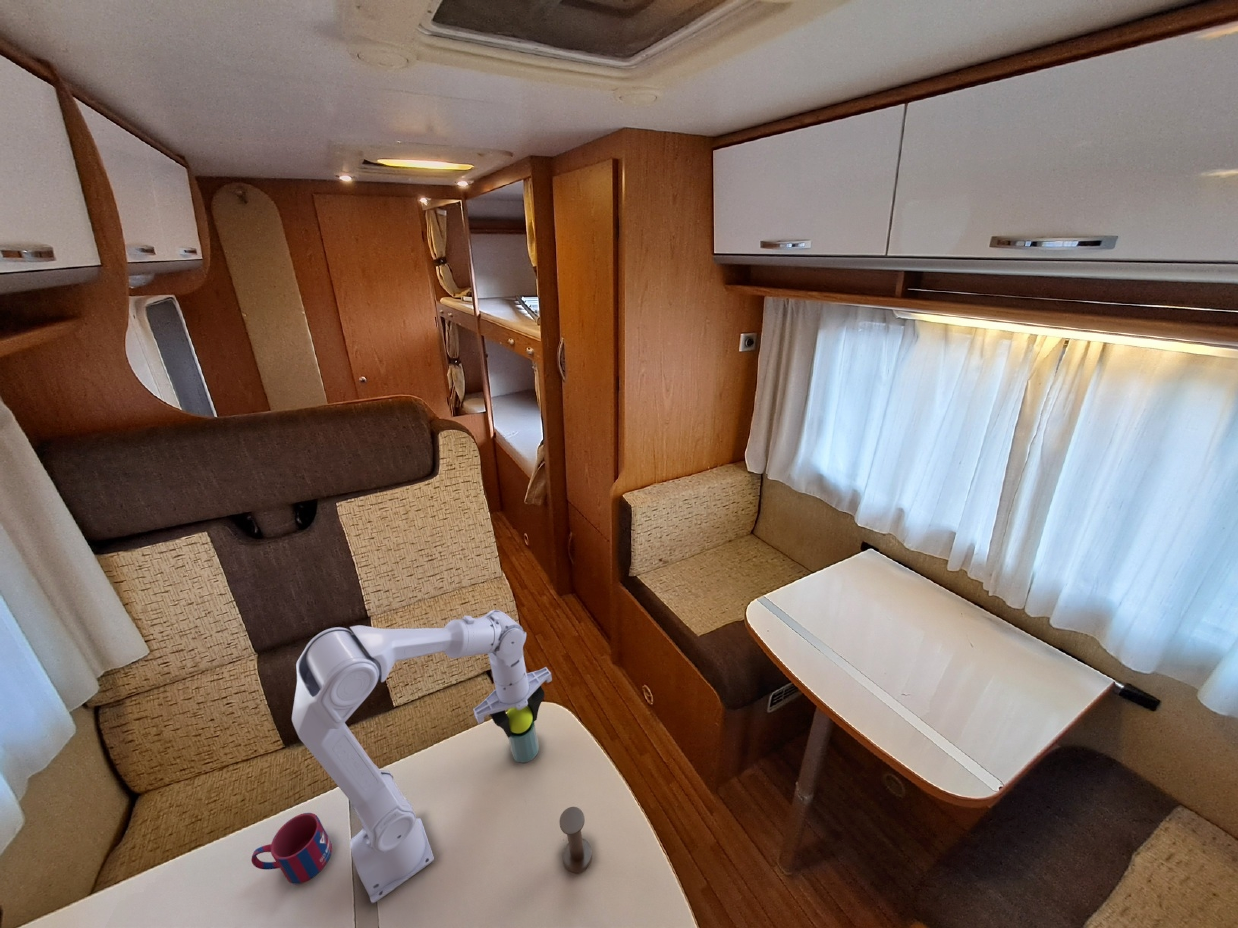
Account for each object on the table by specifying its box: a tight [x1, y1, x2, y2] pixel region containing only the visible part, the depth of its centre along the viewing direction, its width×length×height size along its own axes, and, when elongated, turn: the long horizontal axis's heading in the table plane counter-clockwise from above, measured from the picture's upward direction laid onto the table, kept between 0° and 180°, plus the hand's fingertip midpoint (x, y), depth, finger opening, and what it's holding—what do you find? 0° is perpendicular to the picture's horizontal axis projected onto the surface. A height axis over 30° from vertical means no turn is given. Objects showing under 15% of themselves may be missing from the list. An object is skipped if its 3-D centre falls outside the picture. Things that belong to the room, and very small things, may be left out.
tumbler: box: [507, 720, 540, 764], centre depth 93 cm, size 5×5×7 cm
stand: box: [558, 806, 593, 874], centre depth 75 cm, size 5×5×10 cm
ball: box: [506, 706, 533, 733], centre depth 91 cm, size 5×5×5 cm
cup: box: [250, 812, 333, 885], centre depth 78 cm, size 7×10×7 cm
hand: (520, 724), depth 91 cm, fingers closed on ball, 5 cm apart
